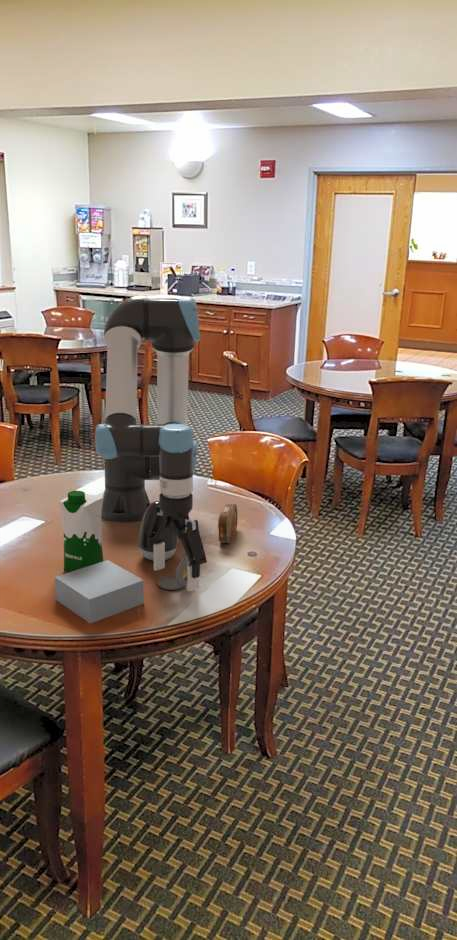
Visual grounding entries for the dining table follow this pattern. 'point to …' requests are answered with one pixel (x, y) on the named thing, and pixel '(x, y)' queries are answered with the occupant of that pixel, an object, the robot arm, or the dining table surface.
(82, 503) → the milk carton
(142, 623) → the dining table surface
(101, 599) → the base block
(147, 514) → the black glossy egg shape
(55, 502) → the dining table surface
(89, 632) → the dining table surface
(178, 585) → the pocket watch
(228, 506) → the tin
